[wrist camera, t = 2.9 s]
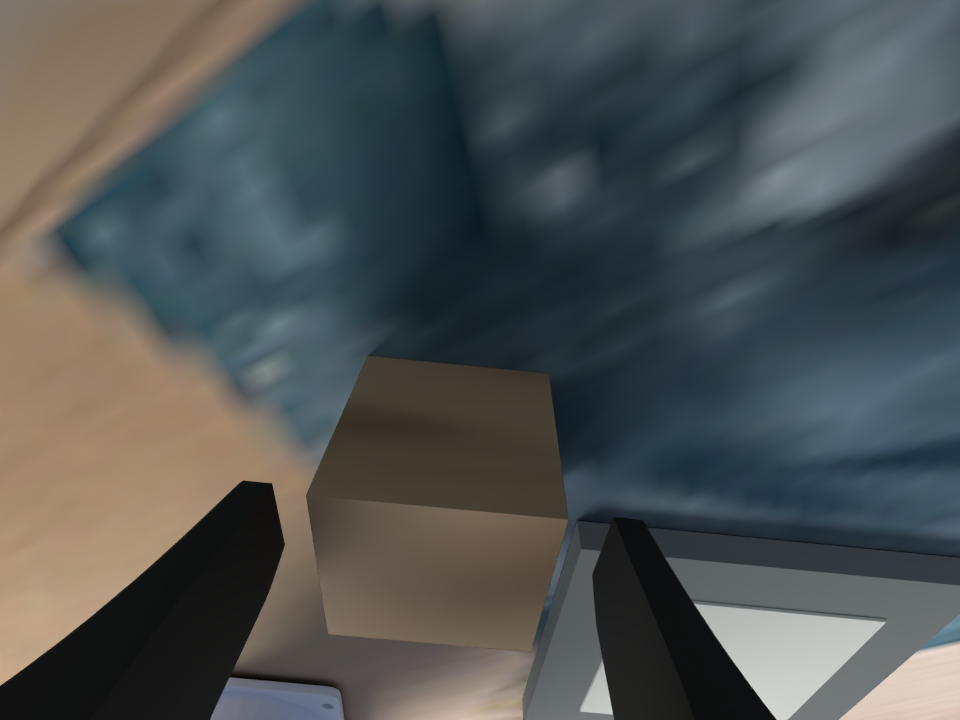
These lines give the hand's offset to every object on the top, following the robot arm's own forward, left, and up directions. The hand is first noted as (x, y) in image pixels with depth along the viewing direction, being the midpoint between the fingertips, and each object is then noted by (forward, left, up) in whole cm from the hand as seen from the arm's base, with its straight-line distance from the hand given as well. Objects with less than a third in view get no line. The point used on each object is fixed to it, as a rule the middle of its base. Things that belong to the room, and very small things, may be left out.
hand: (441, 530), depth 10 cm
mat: (-9, -10, -3) cm, 14 cm away
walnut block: (0, 0, -3) cm, 3 cm away
